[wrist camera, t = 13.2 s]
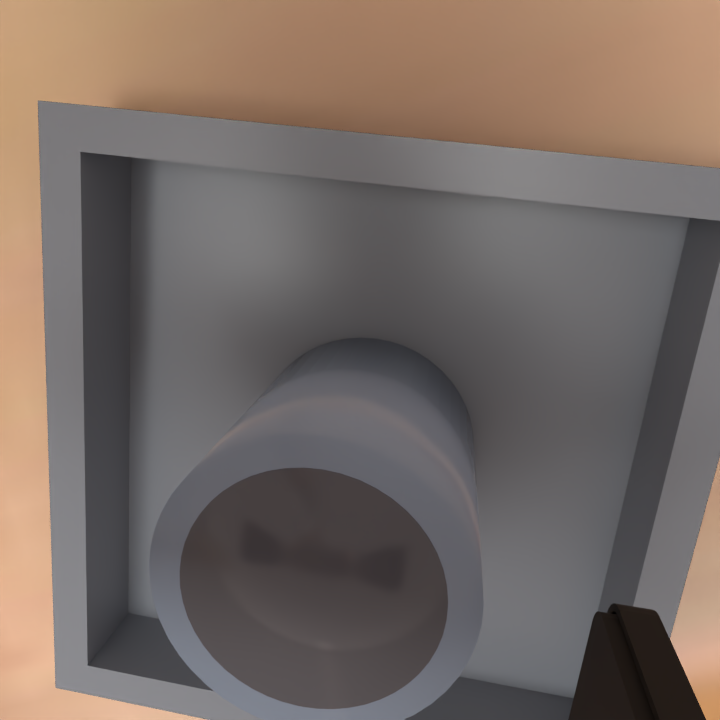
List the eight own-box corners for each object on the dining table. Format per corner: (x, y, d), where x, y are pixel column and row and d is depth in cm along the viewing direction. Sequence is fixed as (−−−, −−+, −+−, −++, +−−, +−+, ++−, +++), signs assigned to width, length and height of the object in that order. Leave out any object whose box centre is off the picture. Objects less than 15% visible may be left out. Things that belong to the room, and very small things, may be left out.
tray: (106, 113, 18) (37, 100, 15) (735, 176, 16) (796, 176, 13) (108, 621, 22) (55, 687, 19) (600, 717, 20) (623, 806, 17)
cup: (266, 324, 18) (149, 410, 11) (489, 353, 17) (510, 465, 10) (253, 521, 19) (145, 701, 13) (457, 555, 19) (456, 764, 12)
